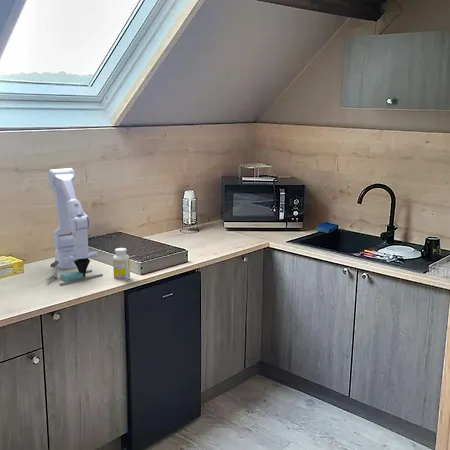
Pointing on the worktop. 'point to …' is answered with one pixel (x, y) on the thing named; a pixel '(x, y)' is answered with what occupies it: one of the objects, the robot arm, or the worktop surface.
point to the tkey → (53, 271)
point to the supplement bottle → (121, 264)
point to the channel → (82, 278)
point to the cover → (71, 276)
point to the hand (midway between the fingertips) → (82, 276)
